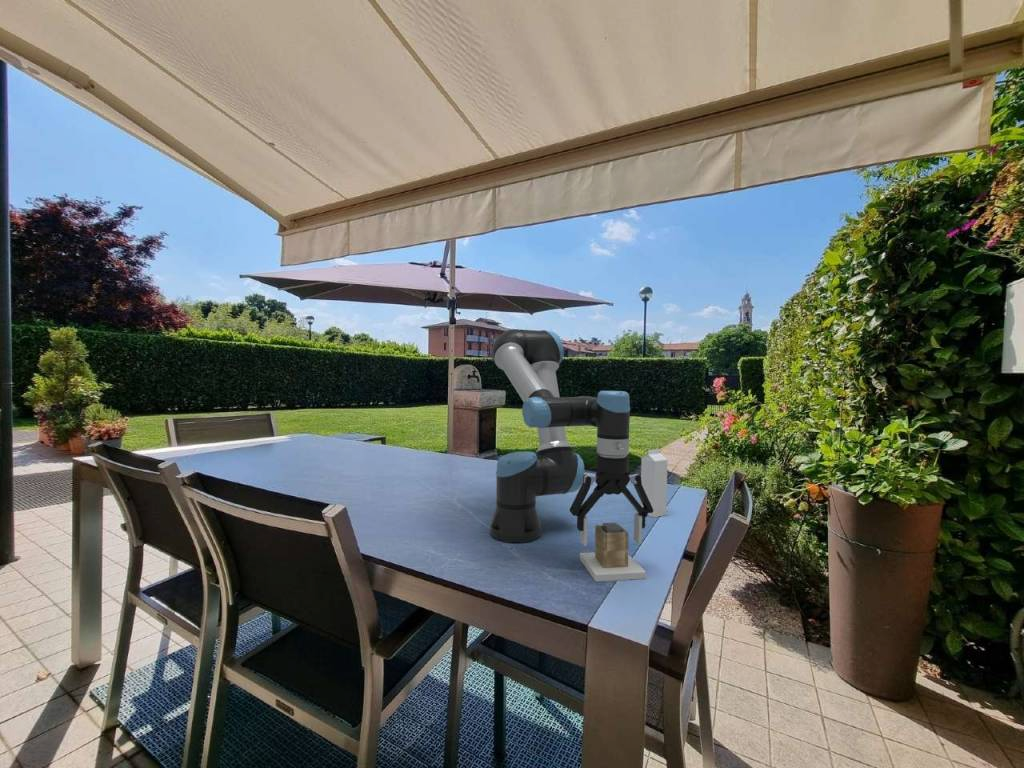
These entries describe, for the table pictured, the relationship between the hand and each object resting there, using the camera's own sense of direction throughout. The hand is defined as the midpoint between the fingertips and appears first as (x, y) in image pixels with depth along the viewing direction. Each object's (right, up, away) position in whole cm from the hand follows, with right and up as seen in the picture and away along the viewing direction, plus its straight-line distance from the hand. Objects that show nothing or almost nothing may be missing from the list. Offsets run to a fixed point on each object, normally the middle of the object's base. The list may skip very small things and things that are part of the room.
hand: (611, 542), depth 101 cm
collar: (0, -5, 0) cm, 5 cm away
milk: (+24, -6, +41) cm, 48 cm away
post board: (0, -6, 0) cm, 6 cm away
